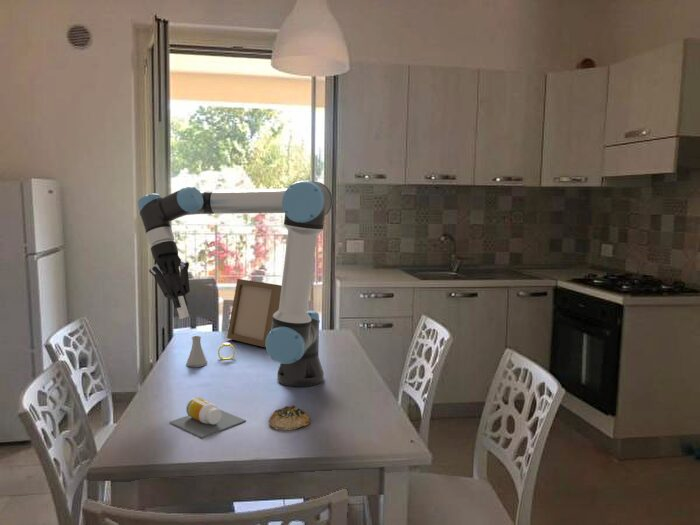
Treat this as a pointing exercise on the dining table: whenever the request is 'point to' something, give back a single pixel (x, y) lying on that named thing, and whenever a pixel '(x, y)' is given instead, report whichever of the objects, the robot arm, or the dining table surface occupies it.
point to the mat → (207, 429)
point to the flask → (196, 354)
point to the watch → (226, 345)
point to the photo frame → (253, 311)
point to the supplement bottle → (203, 411)
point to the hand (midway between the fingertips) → (184, 317)
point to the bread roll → (289, 418)
